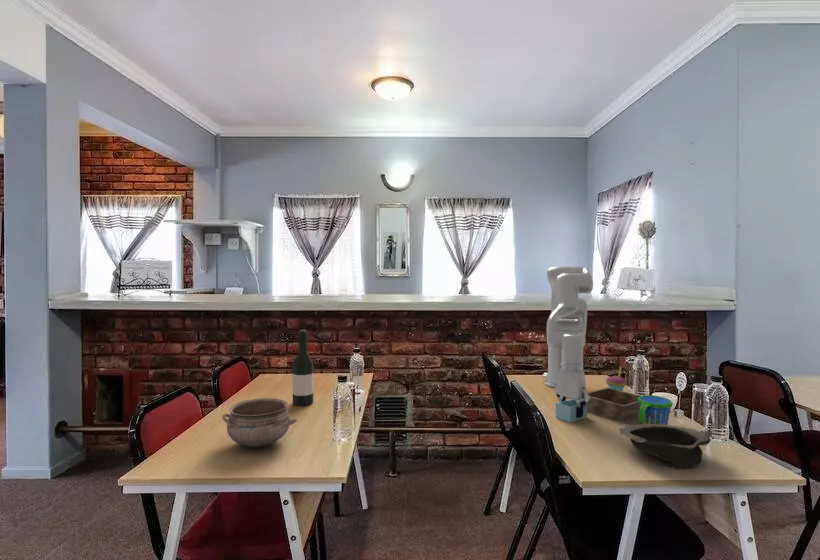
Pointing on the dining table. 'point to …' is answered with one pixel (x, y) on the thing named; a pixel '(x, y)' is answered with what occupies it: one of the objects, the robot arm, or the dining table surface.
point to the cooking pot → (258, 422)
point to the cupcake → (616, 382)
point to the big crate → (614, 404)
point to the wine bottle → (302, 374)
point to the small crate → (569, 410)
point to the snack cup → (654, 409)
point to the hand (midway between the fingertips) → (571, 413)
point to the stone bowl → (669, 442)
